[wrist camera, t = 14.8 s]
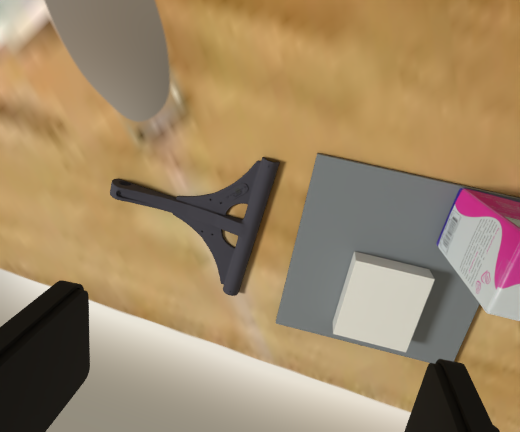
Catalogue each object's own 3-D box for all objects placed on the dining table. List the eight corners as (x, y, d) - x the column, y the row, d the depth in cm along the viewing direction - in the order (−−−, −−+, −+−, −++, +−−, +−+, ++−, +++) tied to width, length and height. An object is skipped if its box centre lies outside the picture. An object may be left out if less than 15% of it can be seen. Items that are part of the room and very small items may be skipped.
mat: (317, 153, 36) (317, 154, 36) (522, 198, 35) (526, 200, 34) (276, 319, 42) (275, 323, 42) (448, 364, 41) (450, 368, 40)
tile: (355, 260, 36) (333, 333, 39) (434, 279, 35) (405, 352, 38) (354, 250, 38) (332, 321, 41) (428, 268, 37) (401, 338, 40)
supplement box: (499, 262, 36) (573, 340, 26) (434, 244, 37) (479, 314, 26) (529, 202, 34) (622, 260, 24) (459, 184, 35) (520, 233, 24)
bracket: (131, 112, 38) (117, 114, 36) (280, 160, 38) (277, 167, 35) (108, 243, 43) (95, 254, 41) (239, 288, 43) (234, 302, 40)
